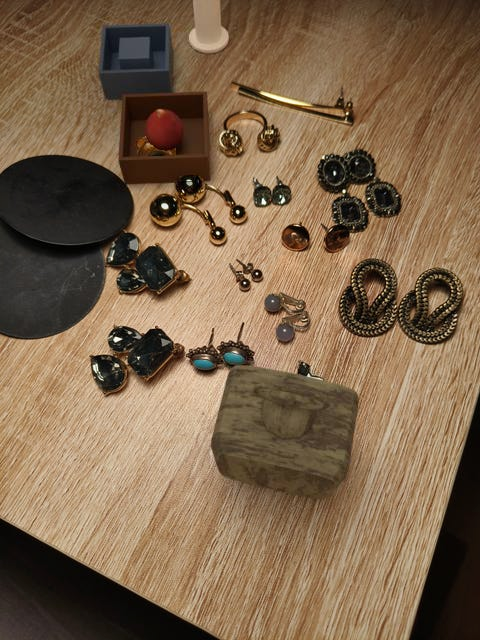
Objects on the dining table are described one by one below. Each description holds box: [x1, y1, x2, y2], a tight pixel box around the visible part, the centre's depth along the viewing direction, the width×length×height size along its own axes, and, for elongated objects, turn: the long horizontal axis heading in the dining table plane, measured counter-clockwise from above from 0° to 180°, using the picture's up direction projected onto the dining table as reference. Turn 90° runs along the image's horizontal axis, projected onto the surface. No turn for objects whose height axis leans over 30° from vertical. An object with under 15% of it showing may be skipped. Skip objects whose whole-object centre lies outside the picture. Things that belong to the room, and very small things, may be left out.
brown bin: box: [117, 91, 211, 185], centre depth 93 cm, size 13×13×6 cm
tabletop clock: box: [210, 364, 360, 500], centre depth 62 cm, size 14×9×25 cm, turn 77°
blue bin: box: [98, 22, 174, 101], centre depth 100 cm, size 11×11×6 cm
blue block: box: [118, 37, 154, 70], centre depth 100 cm, size 5×5×5 cm
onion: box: [145, 109, 184, 151], centre depth 91 cm, size 6×6×8 cm
